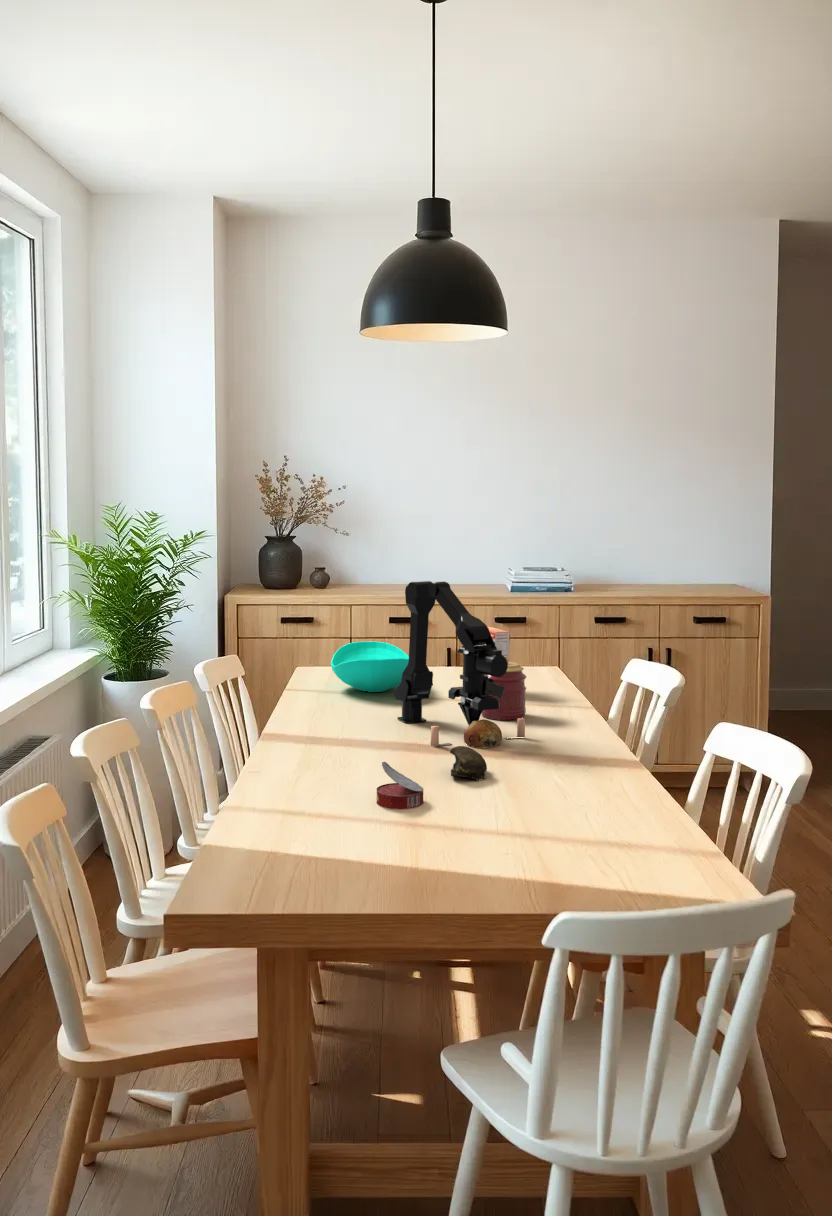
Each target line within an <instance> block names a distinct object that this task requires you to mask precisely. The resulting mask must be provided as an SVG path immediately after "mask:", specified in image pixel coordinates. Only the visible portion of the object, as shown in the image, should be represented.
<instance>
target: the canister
mask: <svg viewBox="0 0 832 1216" xmlns="http://www.w3.org/2000/svg"><path fill="white" fill-rule="evenodd" d="M504 657H505V658H506V660H507V663H508V668H507V671H506V673H505V674H504V675H503V676H501V677H494V676H490V675H485V676H488V678H491V679H494V683H495V684H498V685H500V686H503V687H505V690H504V693H503V696H502V698H499V697H498V696H497V697H496V696H494V695H491V694H489V696H493V697H495V698H497V699H498V700H499V701H500V708H499V709H491V710H483V711H482V713H481V716H482V717H483V718H485V717H486V718H485V719H488V718H490V719H489V720H494V719H499V720H498V721H512V720H511V719H516V720H517V719H518V718H522V717H523V718H525V717H524V716H526V711H527V710H526V709H527V708H526V692H527V686H526V685H525V680H526V679H527V675H526V674H525V673H524V672H523V671H524V669H525V668H524V666H521V665H520V664H519V663H517V662H514V661H510V659H508V657H507V656H504Z"/></svg>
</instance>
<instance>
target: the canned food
mask: <svg viewBox="0 0 832 1216" xmlns="http://www.w3.org/2000/svg"><path fill="white" fill-rule="evenodd" d="M381 766H382V768H383V771H384V773H385V774H386V776H388V778H390V779H391V780H393V783H392V782H390V783H385V784H382V785H379V786H378V787H376V805H377V806H379V807H381V808H385V809H389V810H408V809H415V808H418V807H421V806H422V805H424V788H423V787H422V786H421V785H420V784H419V783H418V782H416V781H414V780H413V779H411V778H410V777H408V776H405V775H404V774H402V773H400V772H399V771H397V770H396V769H395V768H393V767H392V766H391V765H390V764H389V763H388V762H386V761H382V762H381Z"/></svg>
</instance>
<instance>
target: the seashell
mask: <svg viewBox="0 0 832 1216" xmlns="http://www.w3.org/2000/svg"><path fill="white" fill-rule="evenodd" d="M449 753H451V754H452V755H453V756H454V760H455V761H454V763H453V764H452V768H451V769H450V776H451V777H459V778H460V777H461V778H467V779H468V778H471V779H472V780H473V779H474V780H477V781H485V779H486V777H485V776H486V772H487V770H488V765H487V763H486V760H485V759H484V758H483V755H482V754H480V753H479V752H478V751H476V750H475V749H473V747H470V746H464V745H458V746H455V747H454V746H453V747H452V748H450V751H449Z"/></svg>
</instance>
